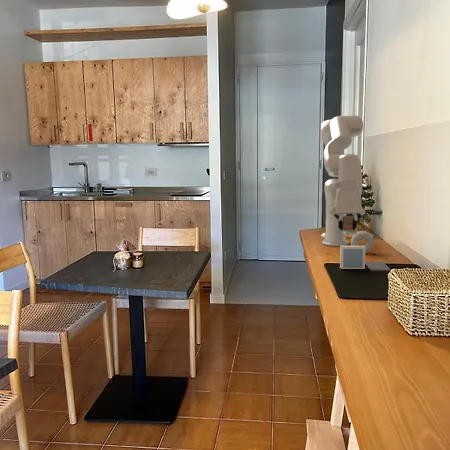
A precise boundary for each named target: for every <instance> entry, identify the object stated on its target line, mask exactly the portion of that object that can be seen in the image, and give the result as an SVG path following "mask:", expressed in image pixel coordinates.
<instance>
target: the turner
mask: <svg viewBox="0 0 450 450" xmlns="http://www.w3.org/2000/svg"><path fill="white" fill-rule="evenodd" d="M342 221H343V230H342V232H343V233H344V234H346V235H354V234H356V233H357V231H356V230H355V231H354V230H353V215H346V216H342Z"/></svg>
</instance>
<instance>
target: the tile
mask: <svg viewBox="0 0 450 450" xmlns="http://www.w3.org/2000/svg"><path fill="white" fill-rule="evenodd" d="M339 247H340V248H339V249H340V250H339V253H340V254H339V255H340V256H339V269H340V268H341V269H365V270H366V264H365V262H366V253H365V248H366V247H365V246H364V245H361V246H351V245H344V246H339ZM341 269H340V270H341Z"/></svg>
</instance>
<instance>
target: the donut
mask: <svg viewBox="0 0 450 450" xmlns="http://www.w3.org/2000/svg"><path fill="white" fill-rule="evenodd" d="M362 239H364V240H365V242H366V243H365V244H364V245H363V246H365V247H366V248H365V254H366V253H369V252H370V251H371V250H372V249H373V248H374V246H375V239H374V236H373V235H372V234H371V233H370V232H368V231H366V230H359V231H356V234H352V237H351V239H350V246H362V245H361V244H360V243H359V241H360V240H362Z"/></svg>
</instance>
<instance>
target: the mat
mask: <svg viewBox="0 0 450 450" xmlns="http://www.w3.org/2000/svg"><path fill="white" fill-rule="evenodd" d="M365 266H367V268H368V269H369V270H370V271H371V272H391V271H390V270H392V269H390V267H389V266H388V265H387V264H386V263H385V262H383V261H365Z"/></svg>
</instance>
